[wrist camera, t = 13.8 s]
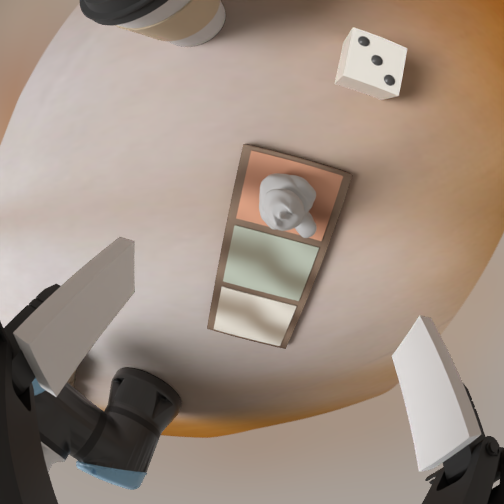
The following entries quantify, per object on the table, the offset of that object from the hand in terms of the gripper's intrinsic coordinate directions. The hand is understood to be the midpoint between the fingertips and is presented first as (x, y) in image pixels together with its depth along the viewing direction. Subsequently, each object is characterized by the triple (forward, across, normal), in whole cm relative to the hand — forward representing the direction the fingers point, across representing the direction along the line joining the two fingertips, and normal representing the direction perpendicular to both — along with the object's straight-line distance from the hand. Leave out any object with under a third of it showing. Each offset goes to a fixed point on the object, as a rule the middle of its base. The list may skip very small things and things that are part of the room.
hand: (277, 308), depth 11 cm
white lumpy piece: (+18, 0, 0) cm, 18 cm away
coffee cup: (+19, +14, -17) cm, 29 cm away
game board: (+19, 0, +8) cm, 20 cm away
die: (+19, -4, -15) cm, 25 cm away
